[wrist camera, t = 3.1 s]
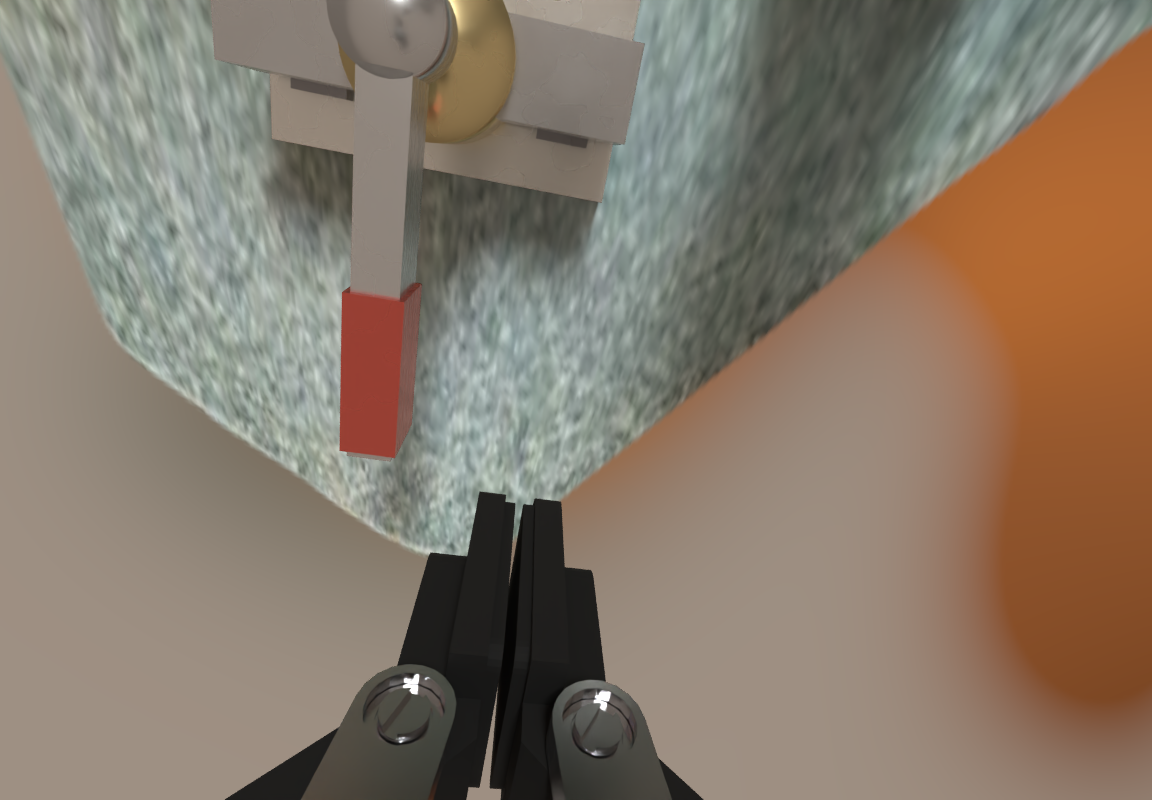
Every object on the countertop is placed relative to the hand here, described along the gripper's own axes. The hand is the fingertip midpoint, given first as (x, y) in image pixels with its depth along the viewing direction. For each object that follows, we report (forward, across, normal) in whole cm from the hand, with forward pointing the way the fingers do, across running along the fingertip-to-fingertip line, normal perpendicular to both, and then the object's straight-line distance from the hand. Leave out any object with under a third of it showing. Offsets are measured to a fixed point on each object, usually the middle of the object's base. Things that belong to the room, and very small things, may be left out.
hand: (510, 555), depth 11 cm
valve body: (+22, +5, -10) cm, 25 cm away
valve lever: (+12, +5, -4) cm, 14 cm away
